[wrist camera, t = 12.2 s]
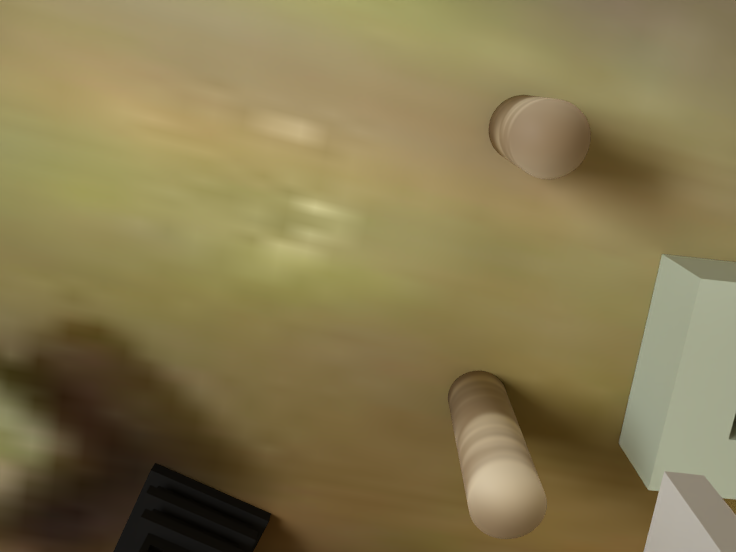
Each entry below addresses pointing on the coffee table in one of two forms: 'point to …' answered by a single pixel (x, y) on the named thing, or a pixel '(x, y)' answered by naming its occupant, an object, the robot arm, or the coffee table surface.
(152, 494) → the chess piece
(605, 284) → the coffee table surface
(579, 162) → the pin short
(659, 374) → the collar block
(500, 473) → the pin medium
